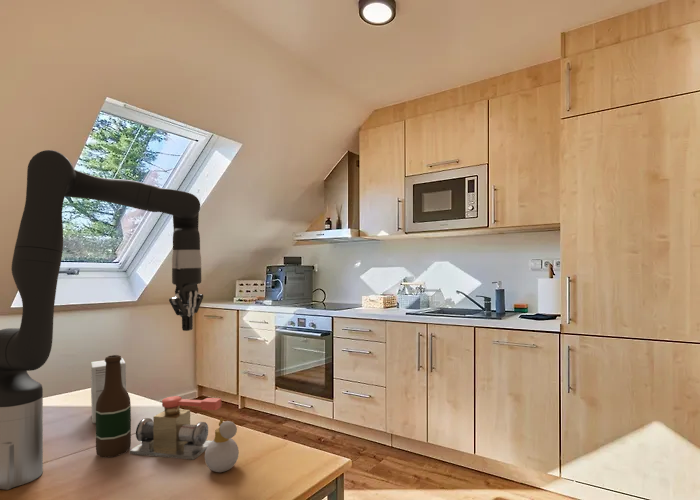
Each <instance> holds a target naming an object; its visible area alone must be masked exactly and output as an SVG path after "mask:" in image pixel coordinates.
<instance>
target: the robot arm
mask: <svg viewBox="0 0 700 500" xmlns="http://www.w3.org/2000/svg"><path fill="white" fill-rule="evenodd" d="M26 169H27V172H26V190H25V193H26V194H25V202H24V208H23V213H22V215H21V220H20V223H19V228H18V231H17V237H16V241H15V245H14V250H13V255H12V262H11V274H12V277H13V281H14V283H15V286H16V289H17V290H18V293H19V296H20V299H21V304H22V305H21V306H22V313H21V314H22V315H21V320H20V327H19V328H18V327H17V328H15V327H12V328H2V329H0V490H6V491H9V490H11V489H12V488H15V487H19V486H21V485H24V484H28V483H30V482H33V481H35V480H36V479H38V478H40V476H41V475H43V473H44V468H43V464H44V463H43V462H44V448H43V447H44V445H43V443H44V441H43V439H44V433H43V431H44V427H43V425H44V424H43V421H44V419H43V418H44V415H43V414H44V412H43V410H44V409H43V408H44V405H43V404H44V403H43V402H44V398H43V397H44V394H43V393H44V391H43V390H44V389H43V385H42V384H41V383H40V382H38V381H36V380H35V379H34V378H32V377H31V375H29V373H28V371H29V372H30V371H31V372H32V371H36V370H38V369H40V368H41V367H42V366H44V365H45V364H46V362H47V361H48V359H49V357H50V354H51V351H52V347H53V340H54V339H53V337H54V315H55V303H56V302H55V300H56V295H57V286H58V278H59V274H60V270H61V264H62V257H63V250H64V227H63V226H64V224H63V205H64V201H65V198H66V197H68V198H78V199H79V198H80V199H85V200H86V199H88V200H94V201H101V202H106V203H111V204H115V205H121V206H125V207H129V208H133V209H137V210H142V211H145V212H150V213H163V214H167V215H171V216H172V223H173V225H172V227H173V234H172V254H171V255H172V256H171V282H172V284H173V285H174V286H175V290H174V296H173V297H169V298H168V299H169V300H168V301H169V304H170V306H171V307H172V309H173V310H174V313H175V315H176V316H180V317H181V329H182V331H183V332H188V331H192V330H193V328H194V327H193V325H194V323H193V318H194V316H195V314H197V313H198V311H199V309H200V307H201V305H202V302H203V299H204V294H202V293H199V288H198V285H200V284H201V283H202V255H201V237H200V236H201V235H200V232H199V222H200V220H199V216H200V215H199V213H200V210H201V201H200V200H199V198H198V197H197V196H196V195H194V194H192V192H187V191H183V190H177V189H172V188H171V189H170V188H164V187H159V186H157V185H152V184H149V183H144V182H140V181H136V180H131V179H123V178H121V179H120V178H107V177H105V178H104V177H99V176H94V175H91V174H87V173H85V172H82V171H79V170H77V169H75V168H74V165H73V164H72V163H71V161H70V160H69V159H68V158H67V156H65V155H64V154H62V153H61V152H60V151H56V150H52V149H47V150H45V149H44V150H42V151H39V152H37V153H36V154H35V155H33V156H32V157H31V159H30V160H29V162H28V165H27V168H26Z"/></svg>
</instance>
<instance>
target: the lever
mask: <svg viewBox="0 0 700 500" xmlns="http://www.w3.org/2000/svg"><path fill="white" fill-rule="evenodd" d="M161 401H162V402H161V405H162V408H164V407H166V408H170V407H176V406H179V405H180V406H183V407H185V406H186V407H200V410H205V411H206V410H207V411H216V410H218V409H220V408H222V398H217V397H215V398H214V397H206V398H204V399H189V398H188V399H186V398H182V397H181V396H178V395H175V396H174V395H173V396H168V397H164V398H163V399H161Z"/></svg>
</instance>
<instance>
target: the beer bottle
mask: <svg viewBox="0 0 700 500" xmlns="http://www.w3.org/2000/svg"><path fill="white" fill-rule="evenodd" d="M121 358H122V357H121V355H119V354H113V355H108V356H107V357H105V359H104V360H105V362H106V371H105V384H104V389H103V391H102V392H101V394H100V395H99V397H98V400H97V403H96V423H95V454H96V455H97V456H98V457H100V458H102V459H103V458H104V459H105V458H114V457H118V456H120V455H122V454H125V453H127V452H128V451H129V450H130V449H131V445H132V444H131V441H132V433H131V432H132V431H131V430H132V429H131V428H132V426H131V425H132V423H131V421H132V419H131V418H132V414H131V413H132V412H131V411H132V410H131V406H132V405H131V397H130V395H129V392H128V391H127V389H126V390H125V389H124V387H123V384H122V378H121V364H120V360H121Z"/></svg>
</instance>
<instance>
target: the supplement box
mask: <svg viewBox="0 0 700 500" xmlns="http://www.w3.org/2000/svg"><path fill="white" fill-rule="evenodd" d="M90 363H91V364H90V393H91V394H90V395H91V399H90V400H91V421H92V424H96V403H97V400H98V397H99V395H100V394H101V392H102V391H103V389H104V384H105V371H106V362H105V359H104V360H98V361H91V362H90ZM120 364H121V378H122V384H123V387H124V389H125V390H126V391H127V372H126V370H127V369H126V368H127V367H126V366H127V365H126V361H125V360H124V357H121V360H120Z"/></svg>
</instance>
